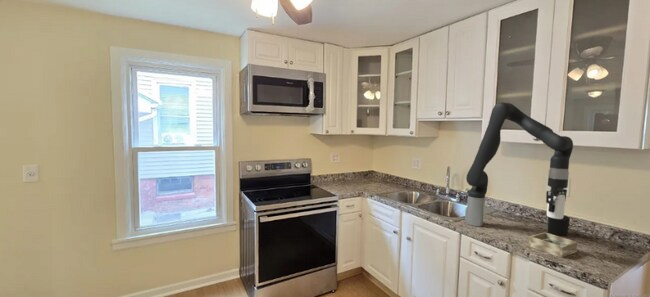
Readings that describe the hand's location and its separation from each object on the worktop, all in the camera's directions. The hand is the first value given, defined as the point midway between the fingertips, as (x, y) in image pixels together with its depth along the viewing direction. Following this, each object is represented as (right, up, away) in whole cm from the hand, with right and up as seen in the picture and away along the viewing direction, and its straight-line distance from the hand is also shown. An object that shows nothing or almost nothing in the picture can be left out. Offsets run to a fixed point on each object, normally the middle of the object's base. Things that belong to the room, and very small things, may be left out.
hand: (555, 210), depth 139 cm
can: (0, -3, 0) cm, 3 cm away
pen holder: (+20, -18, +23) cm, 35 cm away
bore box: (0, -19, +1) cm, 19 cm away
